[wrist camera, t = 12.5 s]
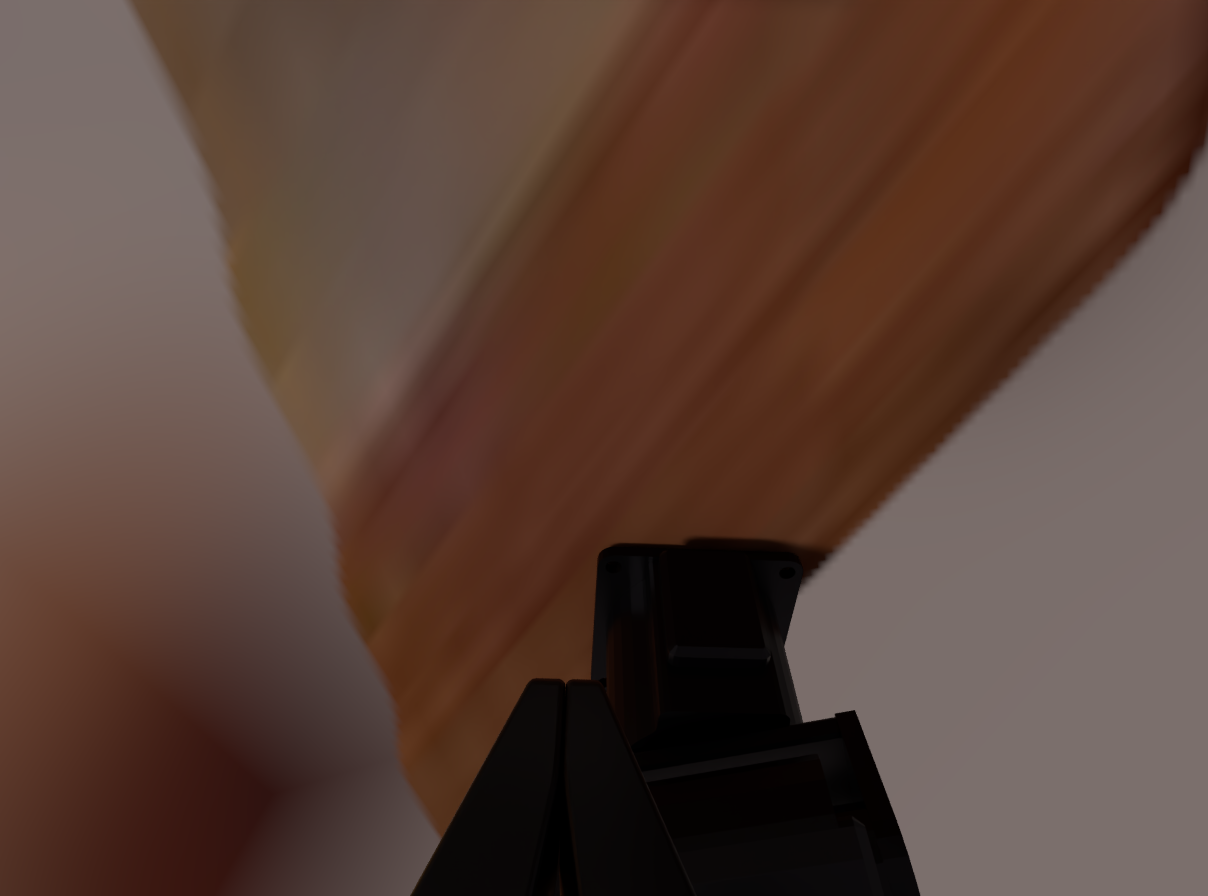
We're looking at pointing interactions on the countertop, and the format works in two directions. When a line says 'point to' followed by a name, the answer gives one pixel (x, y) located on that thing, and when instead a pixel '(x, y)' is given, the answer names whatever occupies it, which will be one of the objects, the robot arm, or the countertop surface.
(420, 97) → the countertop surface
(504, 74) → the countertop surface
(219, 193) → the countertop surface
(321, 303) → the countertop surface
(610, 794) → the robot arm
